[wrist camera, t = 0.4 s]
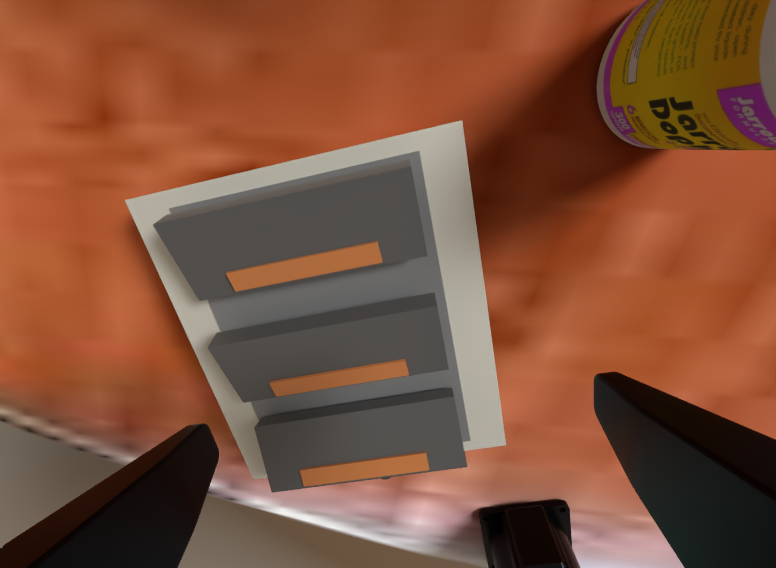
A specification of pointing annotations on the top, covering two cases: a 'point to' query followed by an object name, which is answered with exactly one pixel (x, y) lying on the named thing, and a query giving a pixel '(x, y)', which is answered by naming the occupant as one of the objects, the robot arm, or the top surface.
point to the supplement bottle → (692, 75)
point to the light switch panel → (352, 284)
